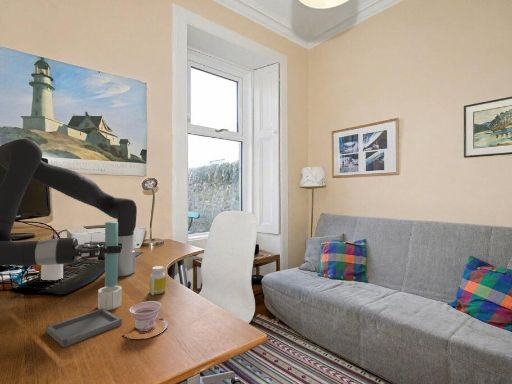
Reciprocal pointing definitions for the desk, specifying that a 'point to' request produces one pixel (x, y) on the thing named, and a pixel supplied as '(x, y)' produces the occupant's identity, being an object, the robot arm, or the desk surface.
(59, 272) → the can
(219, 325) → the desk surface
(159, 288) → the supplement bottle
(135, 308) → the teacup
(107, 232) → the dowel
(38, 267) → the carrot
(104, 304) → the cup
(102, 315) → the tray
